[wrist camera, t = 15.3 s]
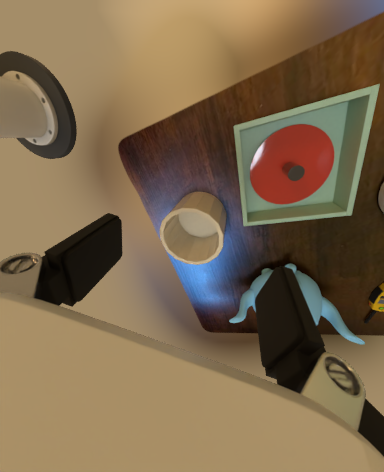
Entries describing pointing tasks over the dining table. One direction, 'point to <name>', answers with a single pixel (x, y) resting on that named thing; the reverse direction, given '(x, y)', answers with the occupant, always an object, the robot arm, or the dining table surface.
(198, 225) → the pot
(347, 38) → the dining table surface
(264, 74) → the dining table surface
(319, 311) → the teapot
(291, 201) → the lid
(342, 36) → the dining table surface
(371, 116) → the green square tray
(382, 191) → the vase
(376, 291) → the remote control
